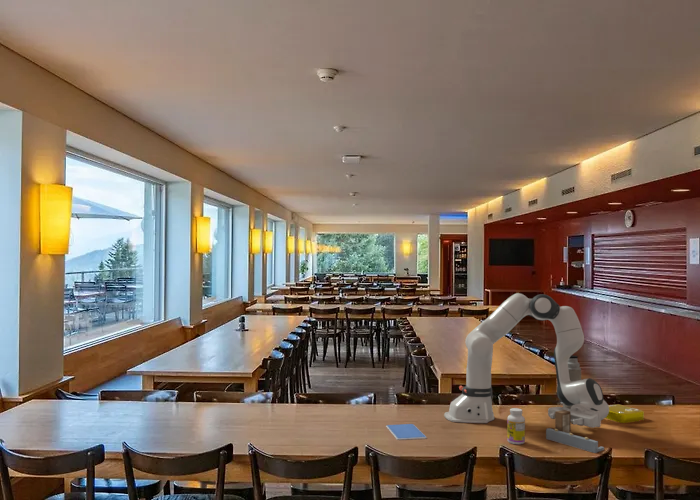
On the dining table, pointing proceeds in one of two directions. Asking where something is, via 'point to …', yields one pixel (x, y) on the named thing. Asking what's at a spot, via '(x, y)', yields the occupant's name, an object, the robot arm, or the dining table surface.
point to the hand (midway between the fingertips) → (561, 419)
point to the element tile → (624, 414)
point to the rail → (573, 440)
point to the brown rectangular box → (563, 421)
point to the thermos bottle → (573, 372)
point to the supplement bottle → (516, 427)
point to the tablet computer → (406, 432)
